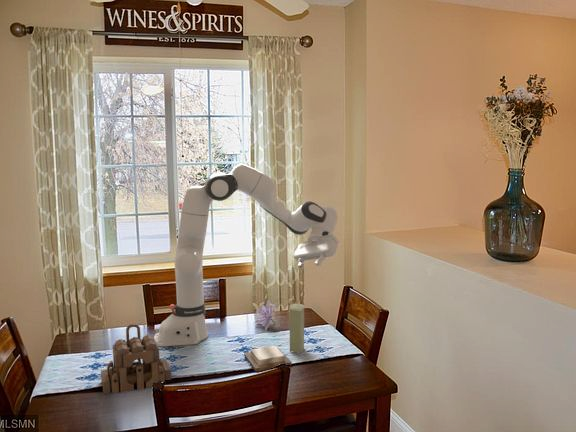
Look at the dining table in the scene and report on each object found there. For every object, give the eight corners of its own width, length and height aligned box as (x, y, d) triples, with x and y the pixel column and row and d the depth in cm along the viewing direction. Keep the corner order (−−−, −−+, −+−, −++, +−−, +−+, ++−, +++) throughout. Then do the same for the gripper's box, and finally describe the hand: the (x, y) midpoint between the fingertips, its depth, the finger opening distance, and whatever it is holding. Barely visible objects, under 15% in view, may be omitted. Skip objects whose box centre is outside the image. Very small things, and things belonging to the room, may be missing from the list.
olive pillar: (289, 351, 193) (289, 307, 190) (293, 347, 197) (293, 303, 194) (300, 353, 191) (300, 308, 189) (304, 348, 195) (304, 304, 193)
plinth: (255, 371, 175) (255, 363, 175) (244, 356, 188) (244, 348, 188) (291, 365, 180) (291, 356, 180) (278, 350, 193) (278, 343, 193)
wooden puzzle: (104, 397, 158) (100, 342, 155) (100, 378, 171) (97, 327, 169) (173, 383, 167) (170, 331, 164) (164, 366, 180) (162, 317, 178)
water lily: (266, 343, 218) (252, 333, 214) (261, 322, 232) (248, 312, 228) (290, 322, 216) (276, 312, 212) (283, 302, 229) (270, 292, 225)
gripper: (296, 238, 212) (285, 264, 204) (333, 231, 198) (323, 258, 191) (305, 247, 215) (294, 273, 207) (342, 240, 201) (332, 267, 194)
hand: (308, 266), depth 199 cm, fingers open, 8 cm apart
